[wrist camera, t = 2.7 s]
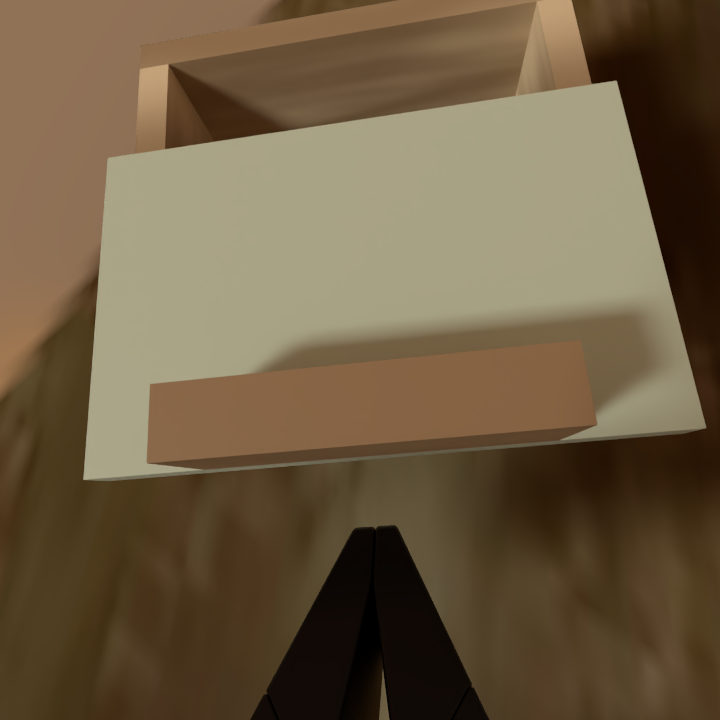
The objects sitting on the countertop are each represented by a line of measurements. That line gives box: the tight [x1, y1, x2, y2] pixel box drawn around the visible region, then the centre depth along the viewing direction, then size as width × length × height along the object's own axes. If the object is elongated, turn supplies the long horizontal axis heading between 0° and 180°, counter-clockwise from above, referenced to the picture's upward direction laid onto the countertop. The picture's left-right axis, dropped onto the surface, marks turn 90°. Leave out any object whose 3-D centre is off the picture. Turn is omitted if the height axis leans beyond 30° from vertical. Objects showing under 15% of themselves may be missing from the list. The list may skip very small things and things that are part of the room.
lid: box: [84, 81, 706, 481], centre depth 12 cm, size 9×14×4 cm, turn 94°
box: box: [135, 0, 592, 154], centre depth 19 cm, size 9×14×8 cm, turn 94°
